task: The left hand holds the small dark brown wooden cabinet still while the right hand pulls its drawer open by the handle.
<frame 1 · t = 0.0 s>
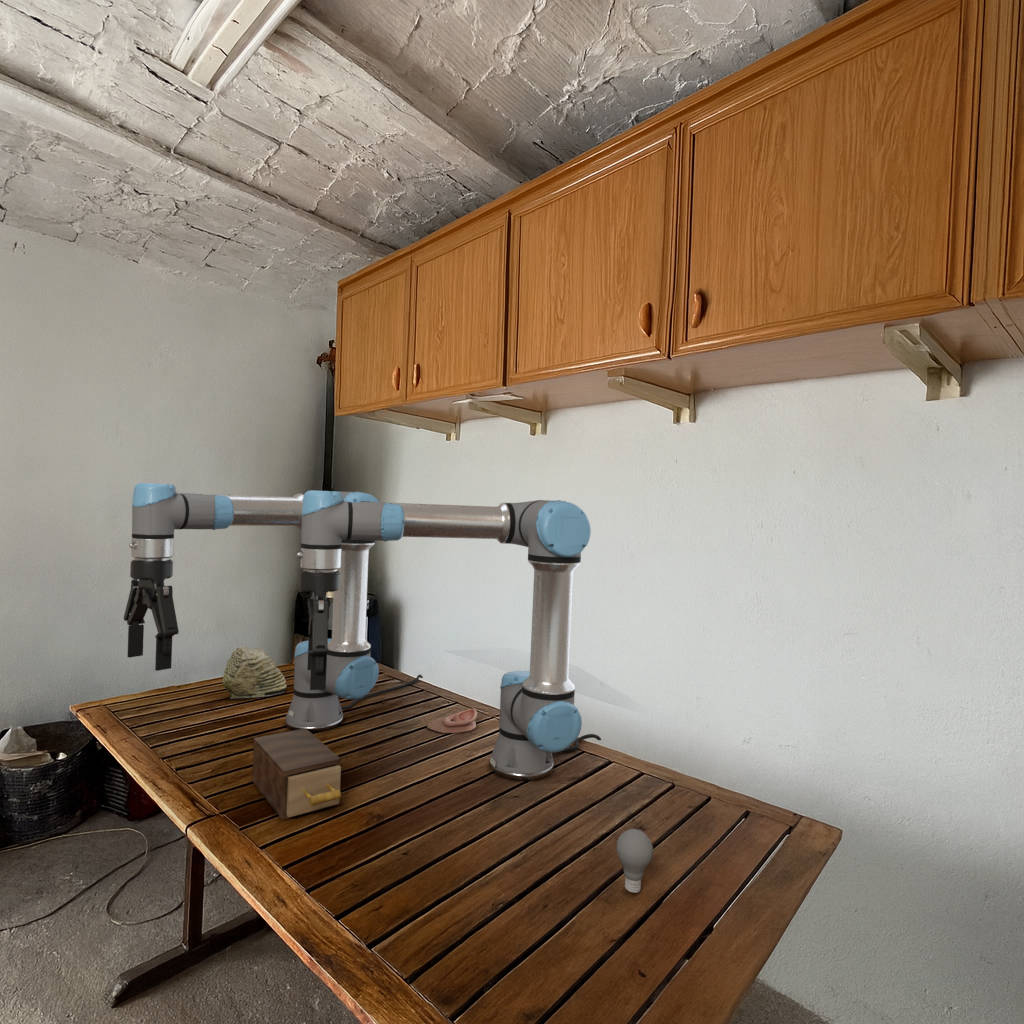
left hand: (148, 662, 129), 28 cm above the table, tool pointing down, fingers open, 13 cm apart
right hand: (316, 679, 123), 28 cm above the table, tool pointing down, fingers open, 13 cm apart
cabinet: (294, 792, 135), on the table
drawer: (303, 779, 131), point 5 cm above the table, slide at 0.5 cm
anatomical model: (452, 726, 178), on the table
light bulb: (632, 891, 106), on the table
fossil: (254, 694, 198), on the table
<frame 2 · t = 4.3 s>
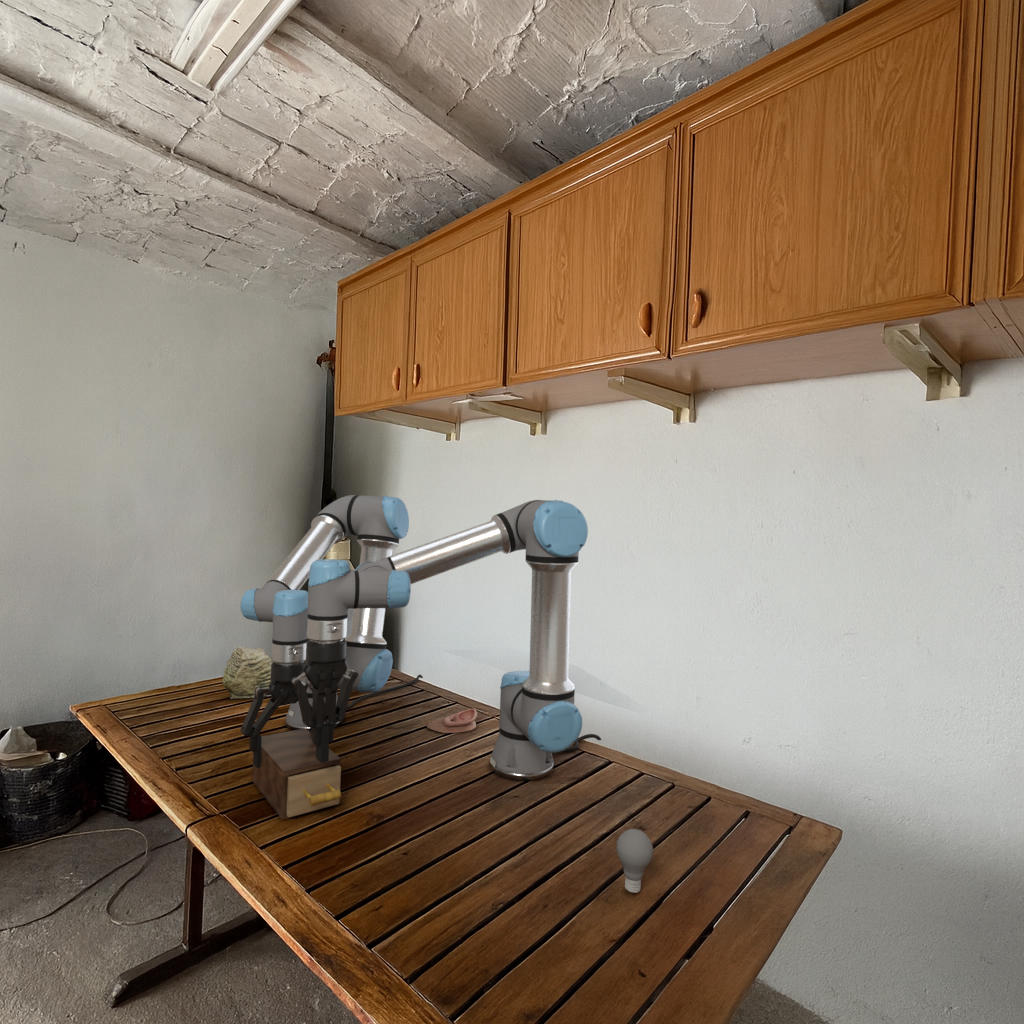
left hand: (285, 759, 140), 5 cm above the table, tool pointing down, fingers closed on cabinet, 12 cm apart
right hand: (322, 759, 124), 12 cm above the table, tool pointing down, fingers closed
cabinet: (294, 792, 135), on the table, touching left hand
everything else where it was.
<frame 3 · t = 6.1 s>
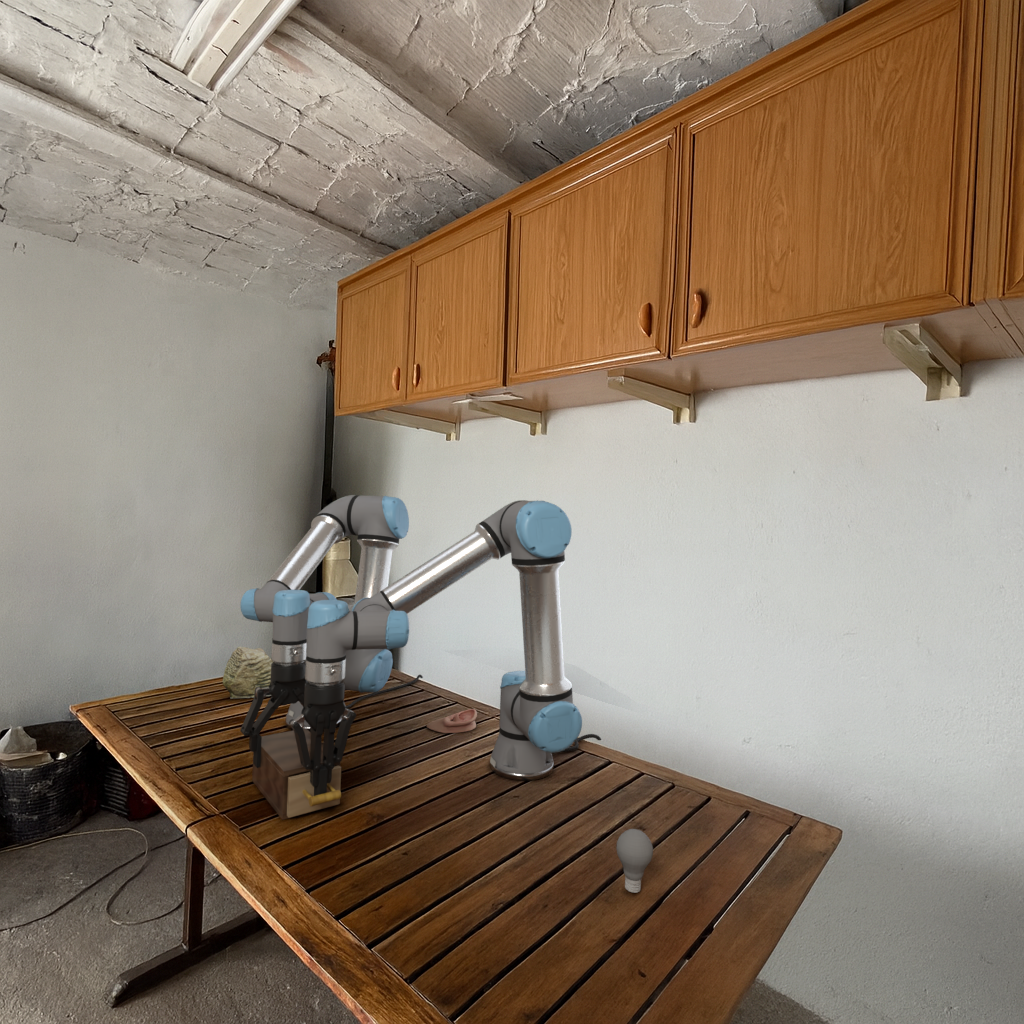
left hand: (285, 759, 140), 5 cm above the table, tool pointing down, fingers closed on cabinet, 12 cm apart
right hand: (319, 800, 124), 4 cm above the table, tool pointing down, fingers closed
cabinet: (294, 792, 135), on the table, touching left hand
drawer: (303, 779, 131), point 5 cm above the table, slide at 0.6 cm, touching right hand
everything else where it was.
when the left hand's fingers open (5 cm above the table, at t = 8.9 s): cabinet stays where it is, on the table.
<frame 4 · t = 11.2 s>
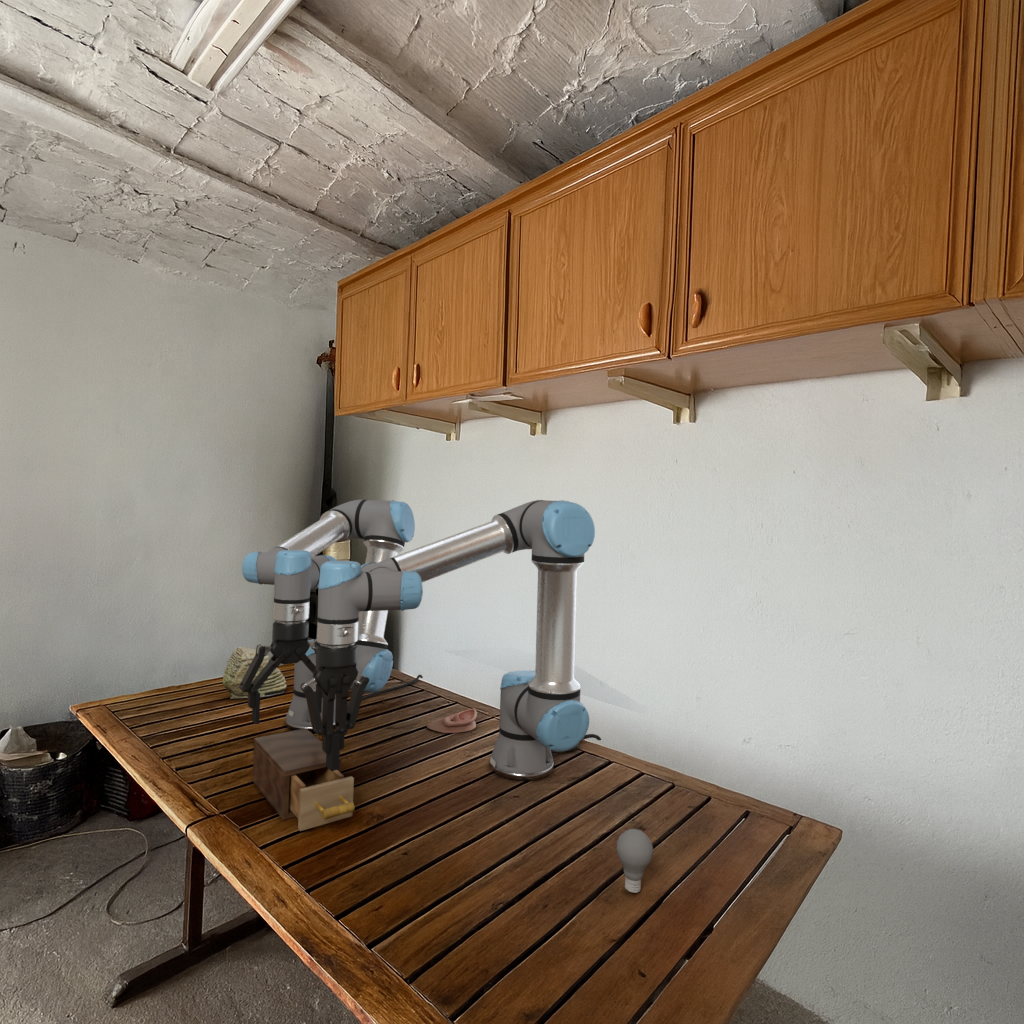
left hand: (287, 716, 140), 14 cm above the table, tool pointing down, fingers open, 13 cm apart
right hand: (332, 767, 120), 12 cm above the table, tool pointing down, fingers closed
cabinet: (294, 792, 135), on the table
drawer: (315, 790, 126), point 5 cm above the table, slide at 6.5 cm
everything else where it was.
at the end: drawer slide at 6.5 cm; cabinet tilted 0°; cabinet never tilted more than 1° during the clip; cabinet moved 0.1 cm from its start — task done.
